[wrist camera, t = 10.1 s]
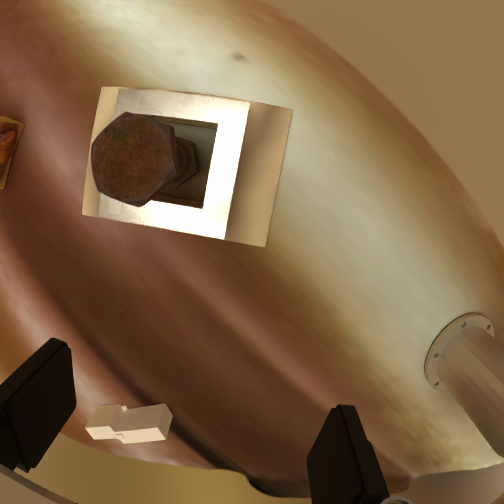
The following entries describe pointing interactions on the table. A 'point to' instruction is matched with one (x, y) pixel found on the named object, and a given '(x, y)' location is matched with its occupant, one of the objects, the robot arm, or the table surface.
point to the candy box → (8, 145)
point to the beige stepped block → (130, 423)
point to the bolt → (140, 159)
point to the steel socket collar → (221, 169)
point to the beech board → (249, 173)
